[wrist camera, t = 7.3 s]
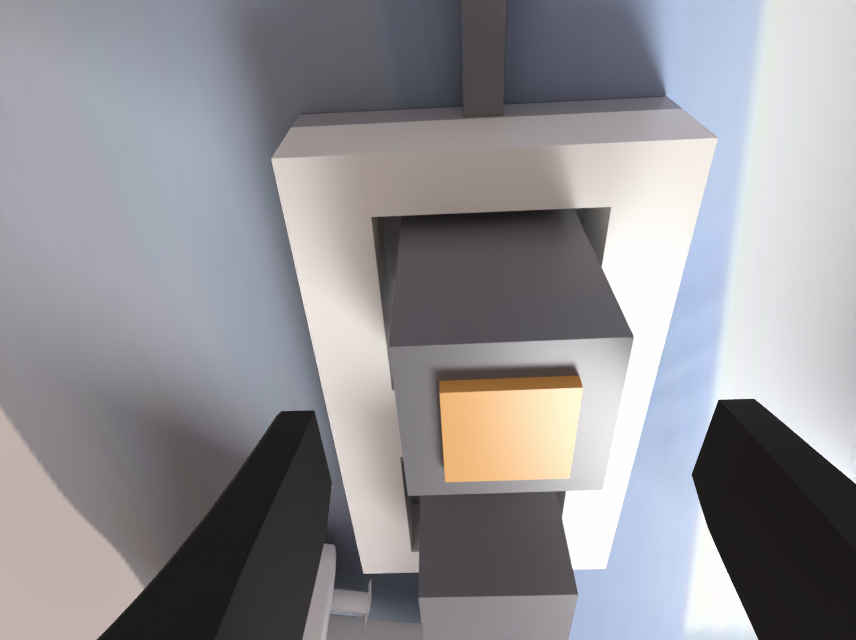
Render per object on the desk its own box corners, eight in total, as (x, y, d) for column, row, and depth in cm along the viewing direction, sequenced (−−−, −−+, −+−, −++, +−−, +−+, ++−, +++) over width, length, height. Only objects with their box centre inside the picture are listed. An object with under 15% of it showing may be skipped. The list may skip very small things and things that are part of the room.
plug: (564, 187, 14) (639, 348, 9) (551, 316, 16) (606, 502, 11) (403, 195, 14) (387, 359, 9) (415, 322, 16) (407, 508, 11)
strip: (238, -219, 10) (3, -370, 5) (736, -254, 10) (1131, -460, 4) (370, 504, 23) (351, 694, 18) (587, 499, 23) (637, 690, 17)
